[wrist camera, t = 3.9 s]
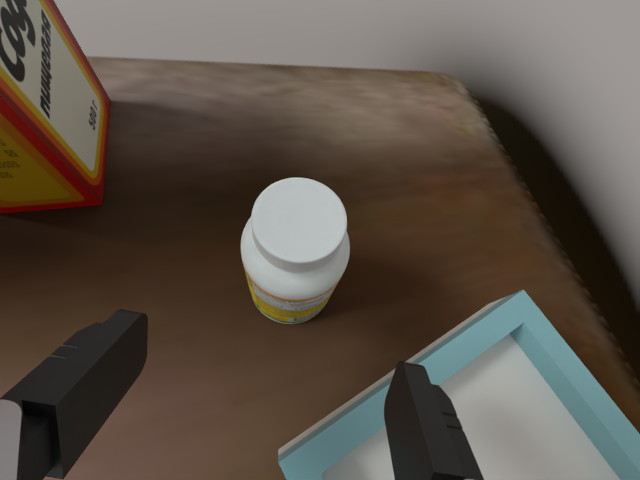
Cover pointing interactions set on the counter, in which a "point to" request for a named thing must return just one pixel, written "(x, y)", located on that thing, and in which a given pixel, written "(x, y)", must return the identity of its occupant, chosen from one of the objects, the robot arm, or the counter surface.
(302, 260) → the supplement bottle
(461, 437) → the robot arm
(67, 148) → the baking soda box
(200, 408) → the counter surface
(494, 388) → the shallow teal tray
